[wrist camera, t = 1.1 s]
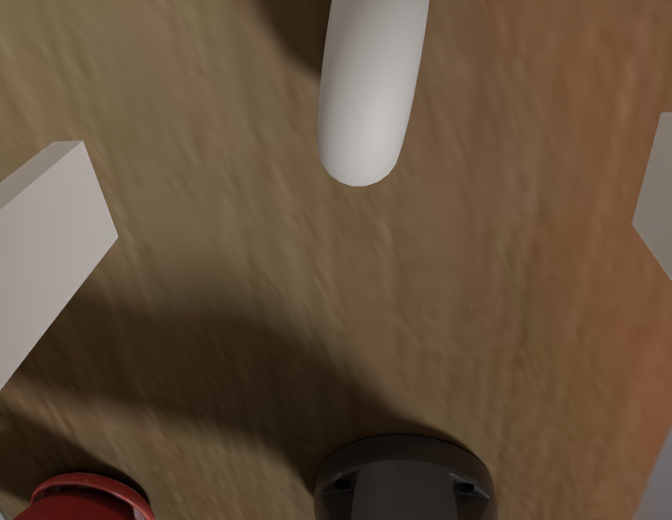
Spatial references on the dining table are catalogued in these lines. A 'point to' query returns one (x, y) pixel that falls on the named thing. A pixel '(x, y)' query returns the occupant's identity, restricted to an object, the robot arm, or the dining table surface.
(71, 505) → the plant pot
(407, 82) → the grey curved piece
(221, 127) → the dining table surface
